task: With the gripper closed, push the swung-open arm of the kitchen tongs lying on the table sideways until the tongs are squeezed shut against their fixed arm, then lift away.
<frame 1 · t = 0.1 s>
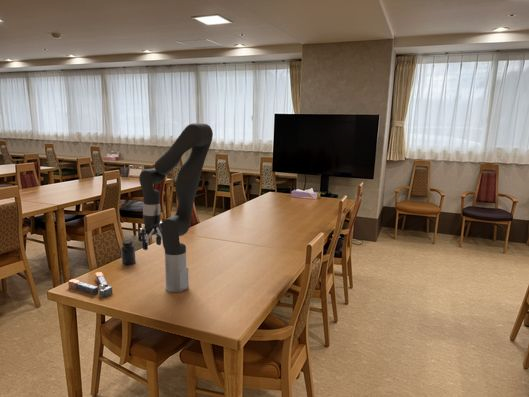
hand: (152, 247, 170), 17 cm above the table, tool pointing down, fingers open, 8 cm apart
supplement bottle: (128, 263, 197), on the table
tongs fixed: (102, 293, 161), on the table
tong arm: (101, 281, 170), point 2 cm above the table, hinge at 30.0°
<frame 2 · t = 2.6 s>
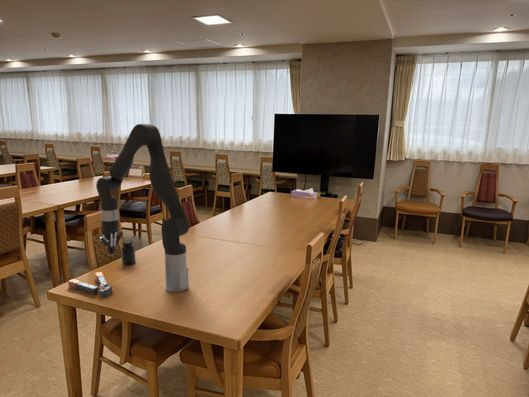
hand: (111, 253, 179), 11 cm above the table, tool pointing down, fingers closed
nothing on the table moved.
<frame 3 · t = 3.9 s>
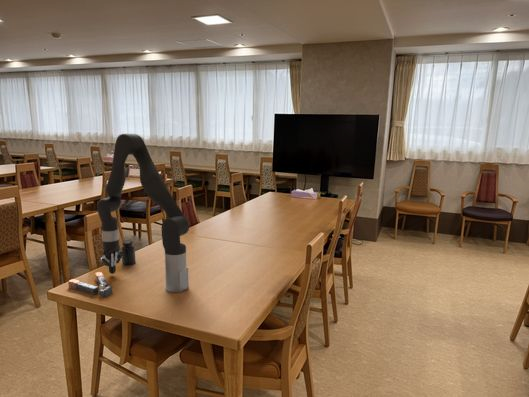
hand: (112, 272, 180), 1 cm above the table, tool pointing down, fingers closed
nothing on the table moved.
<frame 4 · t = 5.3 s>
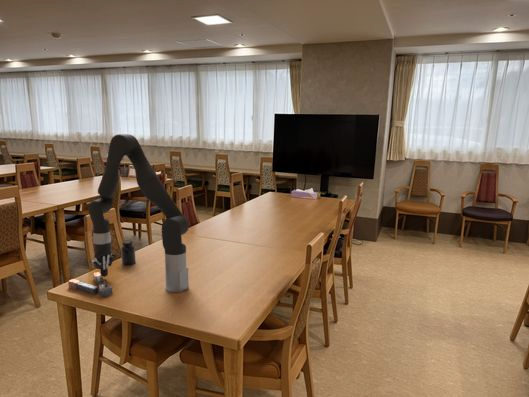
hand: (104, 276, 176), 1 cm above the table, tool pointing down, fingers closed
tong arm: (100, 281, 169), point 2 cm above the table, hinge at 27.0°, touching gripper
everything else where it was.
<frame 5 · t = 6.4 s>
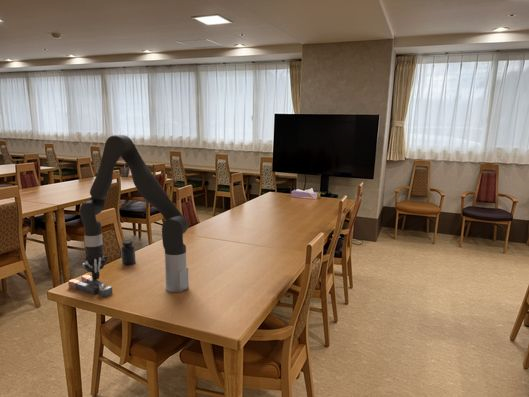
hand: (96, 279, 172), 1 cm above the table, tool pointing down, fingers closed
tong arm: (93, 283, 168), point 2 cm above the table, hinge at 10.1°, touching gripper
everything else where it was.
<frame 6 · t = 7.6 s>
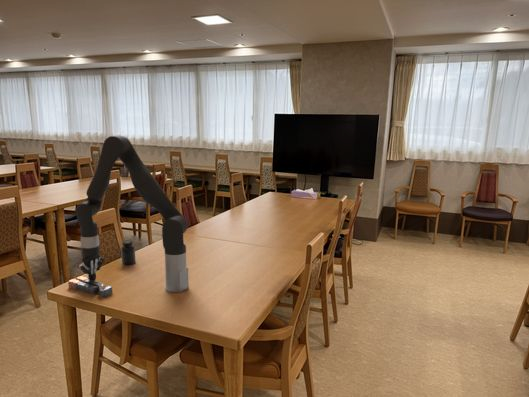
hand: (92, 280, 170), 1 cm above the table, tool pointing down, fingers closed
tong arm: (90, 284, 167), point 2 cm above the table, hinge at 1.9°, touching gripper
everything else where it was.
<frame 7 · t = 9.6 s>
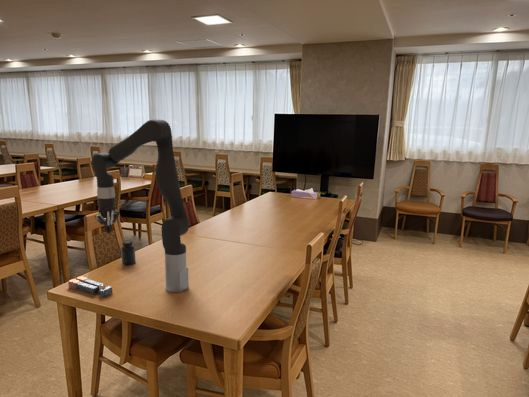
hand: (108, 232, 175), 22 cm above the table, tool pointing down, fingers closed
tong arm: (90, 284, 167), point 2 cm above the table, hinge at 1.8°
everything else where it was.
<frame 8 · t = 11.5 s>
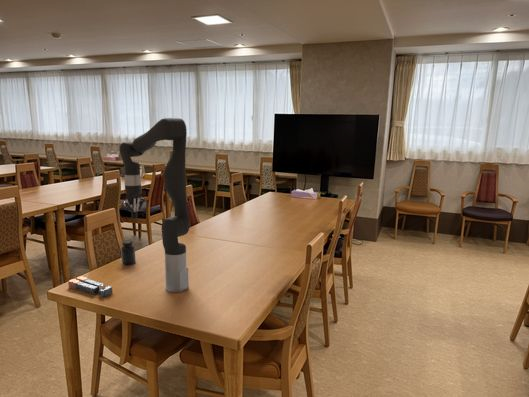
hand: (134, 218, 181), 27 cm above the table, tool pointing down, fingers closed
nothing on the table moved.
at the end: tong arm at +2° (first picture: +30°); tong arm touching nothing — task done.
